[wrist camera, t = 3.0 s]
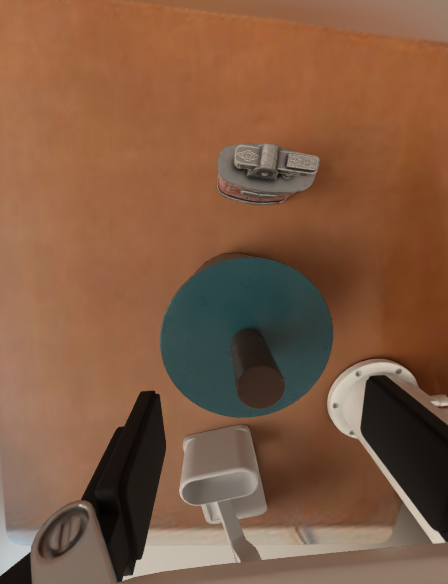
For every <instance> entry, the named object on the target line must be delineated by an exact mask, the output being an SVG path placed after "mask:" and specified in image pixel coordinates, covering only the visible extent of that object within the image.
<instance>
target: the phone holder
mask: <svg viewBox="0 0 448 584" xmlns="http://www.w3.org/2000/svg"><path fill="white" fill-rule="evenodd" d="M183 450H184V453H185V454H184V461H183V468H182V475H181V482H180V495H181V497H182V499H183V500H184V501H185V502H186V503H188V504H191V505H196V506H199V505H201V506H202V509H203V512H204V516H205V519H206V521H207V522H208V523H211V524H217V523H222V524H223V527H224V530H225V533H226V536H227V539H228V542H229V544H230V547H231V550H232V553H233V556H234V559H235V562H236V563H240V562H249V561H259V560H261V558H260V555H259V553H258V551H257V550H256V548H255V547H254V546H253V545H252V544H251V543H249V542H248V541H247V540H246V538H245V536H244V534H243V532H242V529H241V527H240V524H239V522H238V519H242V518H247V517H252V516H256V515H261V514H263V513H265V512H266V510H267V505H266V500H265V495H264V491H263V486H262V482H261V477H260V473H259V469H258V464H257V460H256V455H255V451H254V446H253V442H252V438H251V433H250V429H249V428H248V427H247V426H246V425H242V424H241V425H235V426H230V427H225V428H221V429H216V430H211V431H206V432H201V433H197V434H192V435H189V436H187V437H186V438H185V439H184V443H183Z"/></svg>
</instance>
